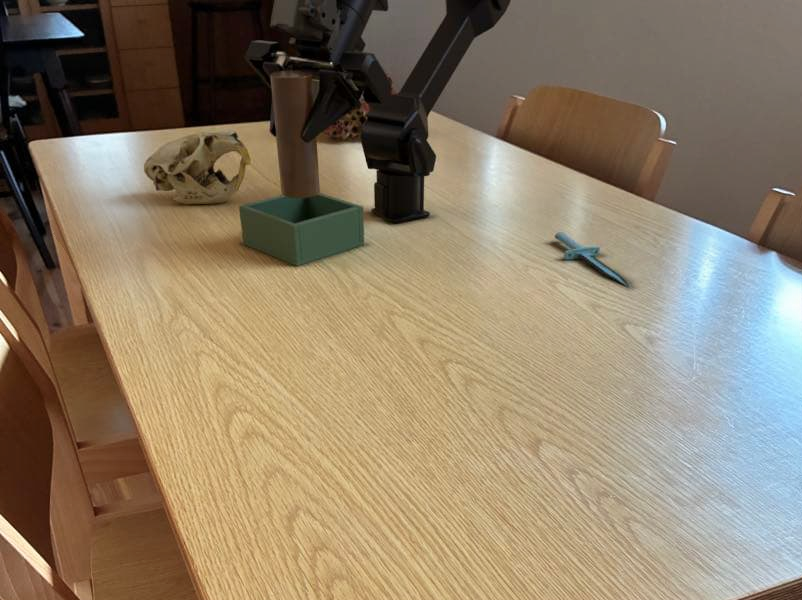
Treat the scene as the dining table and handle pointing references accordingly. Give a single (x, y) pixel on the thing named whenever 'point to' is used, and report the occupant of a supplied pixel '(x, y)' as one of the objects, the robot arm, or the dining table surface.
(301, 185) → the brown cylinder
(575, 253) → the knife
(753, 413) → the dining table surface
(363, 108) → the coral
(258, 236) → the basket
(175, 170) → the skull
